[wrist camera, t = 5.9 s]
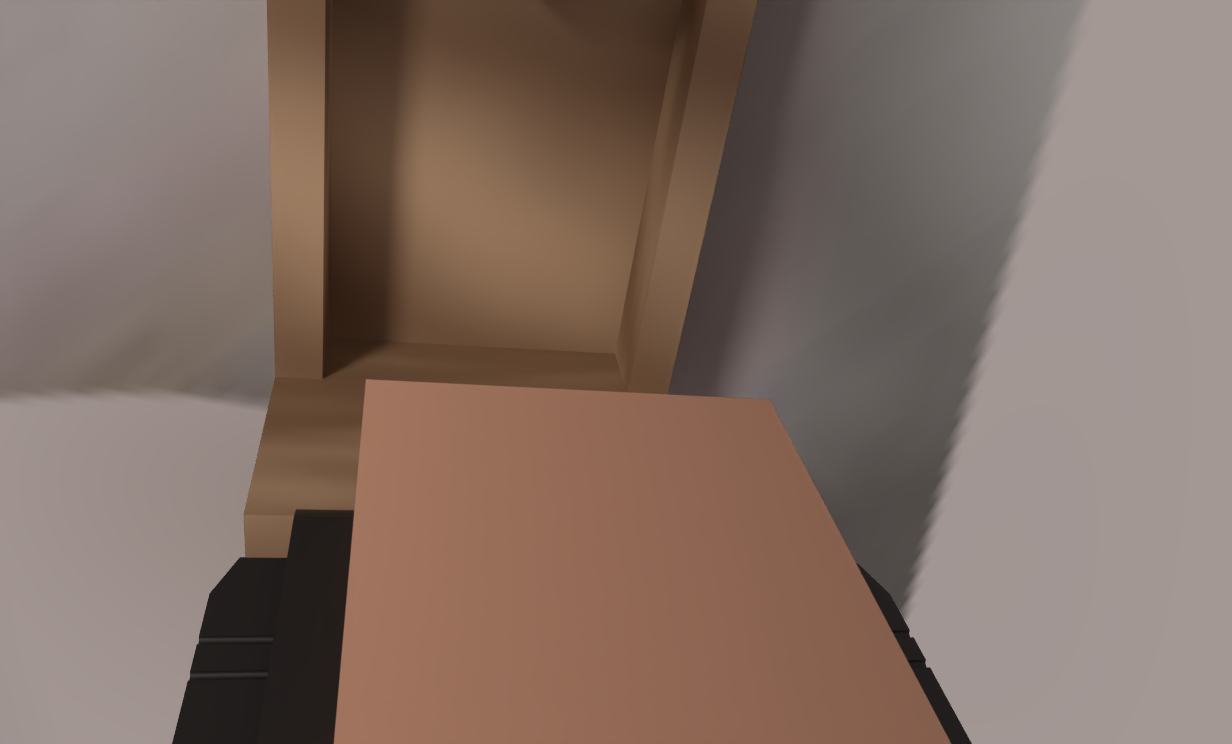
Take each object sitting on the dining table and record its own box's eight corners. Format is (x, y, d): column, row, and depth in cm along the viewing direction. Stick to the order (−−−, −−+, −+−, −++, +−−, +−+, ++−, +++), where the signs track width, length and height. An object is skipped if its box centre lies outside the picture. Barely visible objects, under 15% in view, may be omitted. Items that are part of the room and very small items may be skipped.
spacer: (366, 379, 10) (320, 898, 6) (769, 399, 11) (1008, 852, 7) (352, 674, 12) (314, 1211, 8) (688, 667, 13) (824, 1139, 9)
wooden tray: (278, -736, 15) (170, -1091, 8) (830, -574, 17) (1078, -763, 10) (290, 378, 25) (247, 594, 19) (631, 394, 27) (694, 593, 21)
